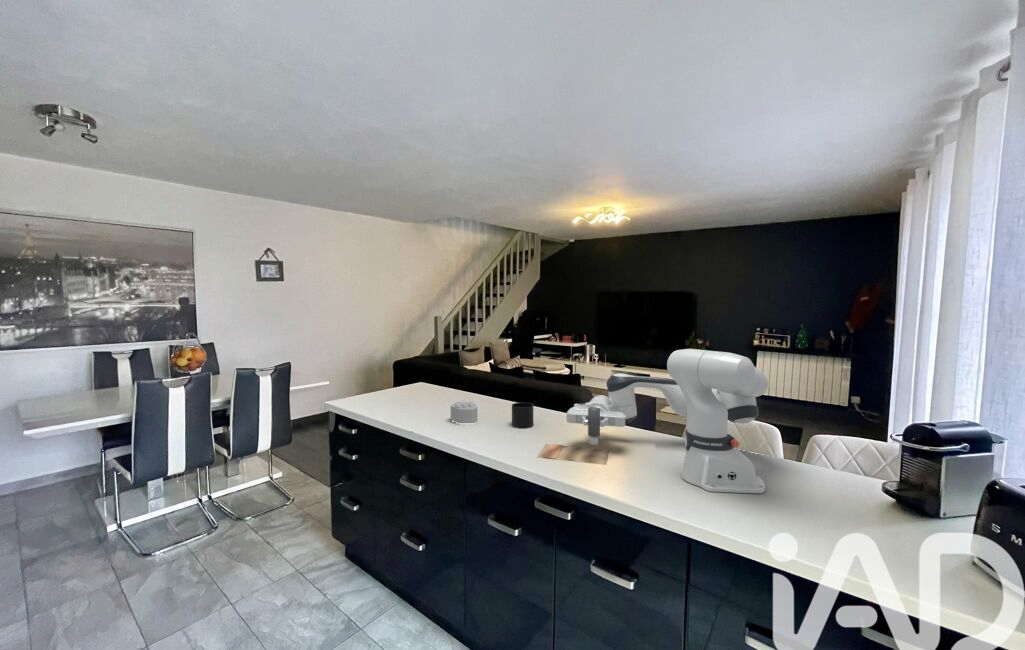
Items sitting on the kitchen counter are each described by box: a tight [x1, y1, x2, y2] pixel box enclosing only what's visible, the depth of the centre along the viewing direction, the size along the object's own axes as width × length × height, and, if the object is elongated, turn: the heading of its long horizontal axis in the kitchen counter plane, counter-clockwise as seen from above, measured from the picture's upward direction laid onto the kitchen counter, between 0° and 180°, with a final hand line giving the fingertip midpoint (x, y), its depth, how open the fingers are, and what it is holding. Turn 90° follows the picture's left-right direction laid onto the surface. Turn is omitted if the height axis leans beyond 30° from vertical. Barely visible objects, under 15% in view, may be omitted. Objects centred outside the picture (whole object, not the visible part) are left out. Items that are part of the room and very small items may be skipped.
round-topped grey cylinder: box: [587, 407, 601, 446], centre depth 144 cm, size 4×4×12 cm
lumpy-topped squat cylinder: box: [450, 400, 478, 423], centre depth 192 cm, size 10×13×9 cm
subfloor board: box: [536, 443, 610, 466], centre depth 147 cm, size 23×14×2 cm, turn 73°
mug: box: [511, 401, 534, 429], centre depth 187 cm, size 9×12×9 cm
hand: (593, 423), depth 143 cm, fingers closed on round-topped grey cylinder, 4 cm apart
